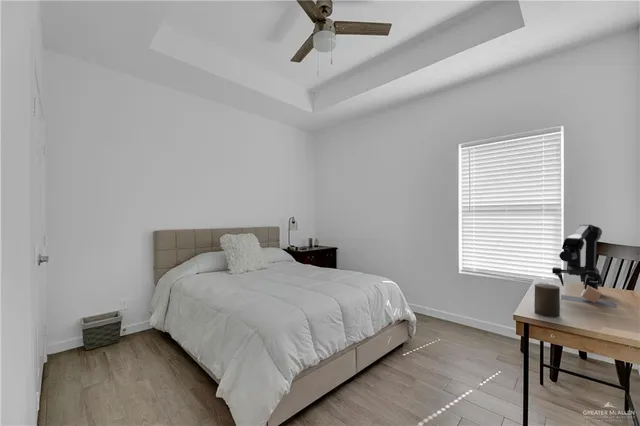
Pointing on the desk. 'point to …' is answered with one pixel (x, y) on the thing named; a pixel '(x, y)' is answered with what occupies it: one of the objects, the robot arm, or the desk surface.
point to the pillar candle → (547, 300)
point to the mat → (588, 301)
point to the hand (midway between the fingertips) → (573, 287)
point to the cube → (591, 294)
